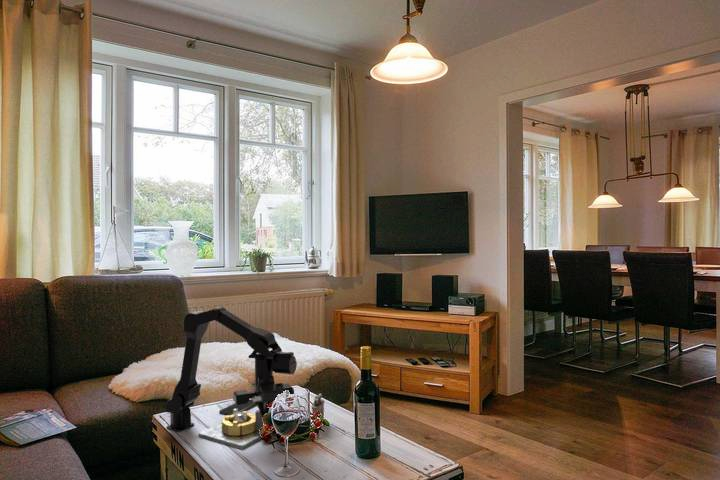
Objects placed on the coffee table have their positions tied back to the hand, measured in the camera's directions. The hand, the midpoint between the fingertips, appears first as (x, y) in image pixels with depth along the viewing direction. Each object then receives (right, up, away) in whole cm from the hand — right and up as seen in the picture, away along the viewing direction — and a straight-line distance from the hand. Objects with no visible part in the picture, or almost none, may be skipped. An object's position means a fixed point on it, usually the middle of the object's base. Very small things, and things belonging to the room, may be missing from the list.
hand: (263, 420), depth 156 cm
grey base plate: (-9, -5, +4) cm, 11 cm away
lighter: (+17, -5, +9) cm, 20 cm away
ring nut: (-5, -4, +3) cm, 7 cm away
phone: (-14, -6, +26) cm, 30 cm away
